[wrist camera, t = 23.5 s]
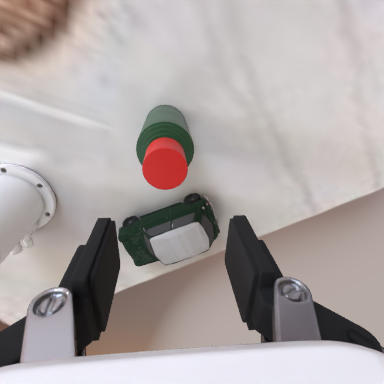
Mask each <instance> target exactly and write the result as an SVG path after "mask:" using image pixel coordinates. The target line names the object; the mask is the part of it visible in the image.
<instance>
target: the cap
mask: <svg viewBox="0 0 384 384" xmlns="http://www.w3.org/2000/svg"><path fill="white" fill-rule="evenodd" d="M142 170H143V175H144V177H145V179H146V180H147V182H148V183H149V184H151V185H152V186H154V187H156V188H158V189H164V190H167V189H172V188H175V187H177V186H179V185H180V184H181V183H182V182H183V181H184V179H185V178H186V175H187V171H188V167H187V161H186V157H185V152H184V149H183V147H182V146H181V145H180V143H178V142H177V141H176V140H174V139H171V138H167V137H163V138H158V139H156V140H154V141H153V142H151V143H150V145H149V146H148V148H147V150H146V153H145V157H144V161H143V166H142Z"/></svg>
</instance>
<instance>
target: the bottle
mask: <svg viewBox="0 0 384 384" xmlns="http://www.w3.org/2000/svg"><path fill="white" fill-rule="evenodd" d="M163 137H167V138H171V139H174V140H176V141H177V142H178V143H180V145H181V146H182V147H183V149H184V152H185V157H186V161H187V167H188V166H189V164H190V163H191V161H192V158H193V154H194V145H193V141H192V138H191V135H190V133H189V130H188V127H187V124H186V121H185V119H184V116H183V115H182V113H181V112H180V111H179V110H178V109H176V108H175V107H173V106H170V105H160V106H157V107H155V108H154V109H152V110H151V111H150V113H149V114H148V116H147V118H146V121H145V123H144V126H143V128H142V131H141V133H140V136H139V138H138V141H137V146H136V151H137V156H138V159H139V161H140V163H141V165H142V166H143V161H144V157H145V153H146V150H147V148H148V146H149V145H150V143H151V142H153V141H154V140H156V139H158V138H163Z"/></svg>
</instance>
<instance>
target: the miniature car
mask: <svg viewBox="0 0 384 384" xmlns="http://www.w3.org/2000/svg"><path fill="white" fill-rule="evenodd" d="M204 197H205V198H206V199H207V201H208V202H207V201H206V200H205V199H201V197H200V195H199V194H197V193H194V194H190V195H188V196H187V197H185V200H184V203H185V204H184V203H177V204H174V205H171V206H169V207H166V208H163V209H160V210H158V211H155V212H152V213H149V214H146V215H144V216H141V217H139V218H140V219H139V218H137V217H136V216H131V217H129V218H127V219H126V220H125V221H124V222H123V227H120V228H119V236H118V239H119V241H120V242H122V243H123V245H124V247H125V249H126V251H127V252H128V253H129V255H130V256H131V257H132V259H133V260H134V263H135V265H136V266H142V265H146V264H149V263H152V262H156V261H160V262H162V263H163V264H164V265H169V264H174V263H177V262H180V261H182V260H185V259H188V258H191V257H193V256H196V255H198V254H201V253H203V252H206V251H208V250H209V249H210V247H211V245H212V243H213V241H214V240H216V238H217V237H218V234H219V233H220V230H219V222H218V219H217V216H216V213H215V210H214V208H213V206H212V204H211V202H210V201H209V199H208V198H207V196H205V195H204ZM213 212H214V213H213ZM214 215H215V216H214ZM215 218H216V219H215ZM138 219H139V220H138Z"/></svg>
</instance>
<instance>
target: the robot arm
mask: <svg viewBox="0 0 384 384" xmlns="http://www.w3.org/2000/svg"><path fill="white" fill-rule="evenodd" d="M55 210H56V199H55V195H54V193H53V191H52V189H51V187H50V186H49V185H48V183H47V182H46V181H45V180H44V179H43V178H42V177H40V176H39V175H38V174H36V173H35V172H33V171H31V170H29V169H27V168H24V167H22V166H18V165H13V164H0V264H1V263H2V262H3V260H4V259H5V258H6V257H7V256H8V255H9V253H10V254H12V255H14V254H18V253H20V252H21V251H22V250H23V249H22V246H21V243H20V240H21V239H22V238H23V243H24V245H25V247H26V248H29V247H32V246H33V245H34V243H33V239H32V238H31V234H32V232H33V231H34V230H36V229H39V228H41V227H43V226H44V225H46V224H47V223H48V222H49V221H50V219H51V218H52V217H53V215H54V213H55ZM225 265H226V269H227V272H228V275H229V278H230V282H231V285H232V289H233V292H234V295H235V299H236V302H237V305H238V308H239V312H240V315H241V319H242V321H243V322H246V323H247V326H248V329H249V330H256V331H257V332H259V333H260V334H261V343H255V344H240V345H225V346H211V347H197V348H185V349H170V350H156V351H143V352H130V353H117V354H105V355H92V356H86V346H87V345H89V344H90V343H91V342H92V341H96V340H99V337H100V333H101V332H102V331H105V330H106V326H107V321H108V317H109V313H110V308H111V304H112V300H113V296H114V291H115V287H116V283H117V279H118V274H119V270H120V257H119V249H118V241H117V233H116V225H115V221H111V218H98V220H97V222H96V224H95V226H94V228H93V230H92V233H91V235H90V237H89V239H88V241H87V244H86V245H80V246H79V247H78V248H77V250H76V252H75V254H74V256H73V258H72V260H71V262H70V264H69V266H68V268H67V270H66V272H65V274H64V276H63V278H62V280H61V282H60V285H59V287H55V288H51V289H48V290H45V291H43V292H42V293H40V294H38V295H37V296H36V297H35V298H34V299H33V300H32V301H31V303H30V304H29V306H28V309H27V316H25V317H24V318H22V319H21V320H19V321H17V322H16V323H14V324H12V325H11V326H9V327H8V328H6V329H4V330H3V331H1V332H0V384H384V348H383V347H382V346H381V345H380V343H379V342H378V341H377V339H376V338H375V337H374V336H373V335H372V334H371V333H370V332H368V331H367V330H366V329H364V328H362V327H361V326H359V325H357V324H355V323H353V322H351V321H350V320H348V319H346V318H344V317H342V316H340V315H338V314H337V313H335V312H333V311H331V310H329V309H327V308H325V307H323V306H322V305H320V304H318V303H316V302H314V301H313V300H312V295H311V292H310V290H309V289H308V287H307V286H306V285H305V284H304V283H302V282H301V281H299V280H297V279H294V278H291V277H283V275H282V273H281V272H280V270H279V268H278V266H277V264H276V263H275V261H274V259H273V257H272V255H271V254H270V252H269V250H268V248H267V246H266V245H265V243H264V242H263V240H258V238H257V236H256V235H255V233H254V231H253V229H252V227H251V225H250V223H249V221H248V220H247V218H246V216H245V215H242V216H234V217H233V218H231V219H230V222H229V230H228V237H227V245H226V253H225Z"/></svg>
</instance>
